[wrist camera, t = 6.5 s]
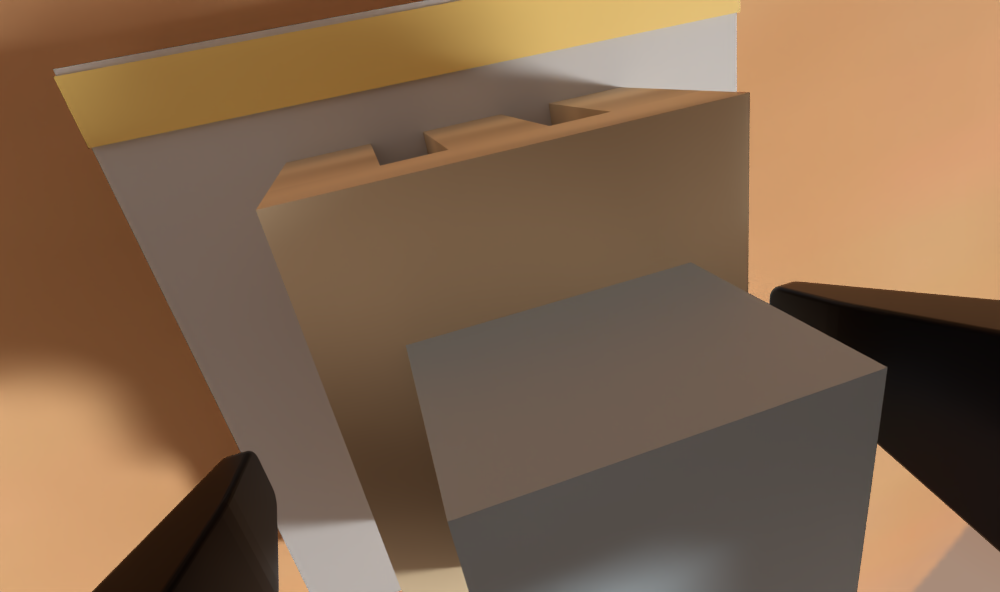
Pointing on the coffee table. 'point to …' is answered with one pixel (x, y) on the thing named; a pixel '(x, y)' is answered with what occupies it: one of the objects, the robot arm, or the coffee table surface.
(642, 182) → the pallet
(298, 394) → the dock
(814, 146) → the coffee table surface
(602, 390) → the grey square block
